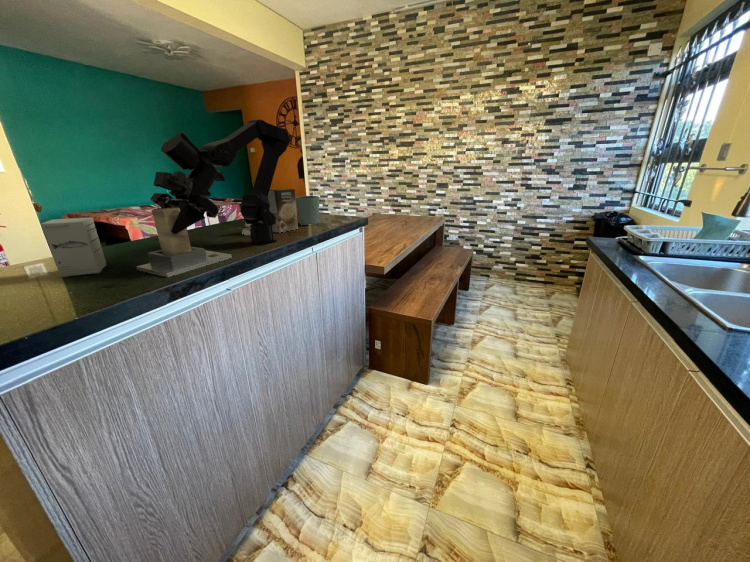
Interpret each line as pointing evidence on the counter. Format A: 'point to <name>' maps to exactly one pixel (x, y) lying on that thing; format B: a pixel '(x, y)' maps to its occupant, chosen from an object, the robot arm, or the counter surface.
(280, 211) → the coffee box
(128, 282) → the counter surface
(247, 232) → the hook
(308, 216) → the grey tapered cup
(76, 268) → the supplement box
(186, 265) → the socket plate
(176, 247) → the square peg
